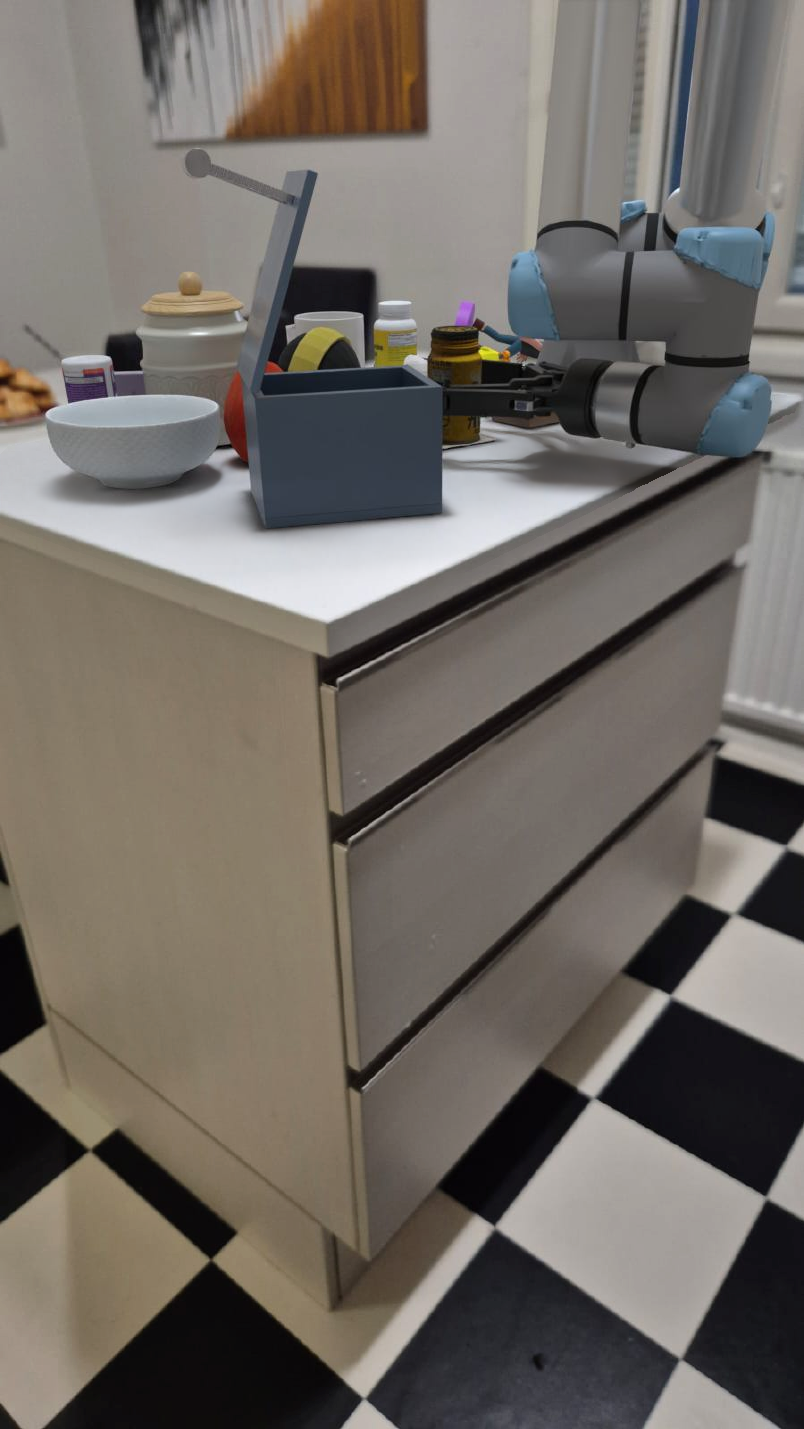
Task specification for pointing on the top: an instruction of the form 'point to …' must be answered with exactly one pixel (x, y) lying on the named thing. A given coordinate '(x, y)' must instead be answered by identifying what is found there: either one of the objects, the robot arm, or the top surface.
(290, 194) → the lid
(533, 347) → the figurine
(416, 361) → the pincushion
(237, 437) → the apple
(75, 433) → the cereal bowl
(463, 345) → the condiment
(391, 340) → the pill bottle
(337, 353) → the bomb
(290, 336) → the mug
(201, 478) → the top surface
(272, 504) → the blue-grey open box
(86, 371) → the pill bottle
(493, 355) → the toy figure
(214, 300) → the jar
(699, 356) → the robot arm
